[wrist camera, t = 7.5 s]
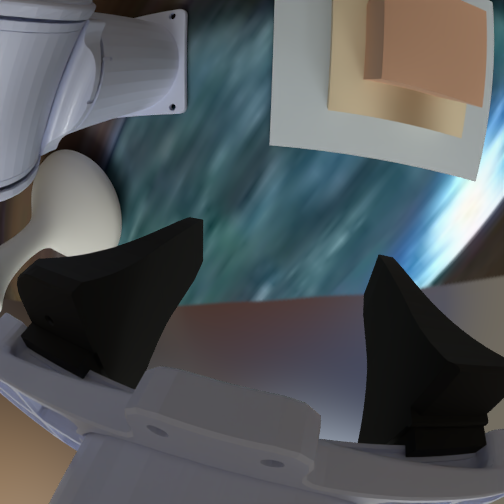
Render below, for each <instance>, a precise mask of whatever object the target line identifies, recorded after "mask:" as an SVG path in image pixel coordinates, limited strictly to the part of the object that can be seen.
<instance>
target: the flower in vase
mask: <svg viewBox="0 0 504 504" xmlns="http://www.w3.org/2000/svg"><path fill="white" fill-rule="evenodd" d="M121 227H122V215H121V208H120V203H119V200H118V196H117V194H116V191H115V189H114V187H113V185H112V183H111V181H110V180H109V178H108V176H107V175H106V174H105V172H104V171H103V170H102V169H101V168H100V167H99V165H98V164H97V163H95V162H94V161H93V160H92V159H90V158H89V157H87V156H85V155H83V154H81V153H79V152H76V151H73V150H66V149H65V150H58V151H55V152H53V153H52V154H50V155H49V156H48V157H47V158H46V159H45V160H44V161H43V162H42V164H41V165H40V166H39V169H38V172H37V174H36V176H35V178H34V183H33V187H32V217H31V220H30V222H29V224H28V225H27V226H26V227H25V228H24V229H23V230H22V231H21V232H19V233H18V234H17V235H16V236H14V237H13V238H12V239H10V240H9V241H7V242H6V243H4V244H2V245H1V246H0V312H1V310H2V303H3V298H4V294H5V291H6V289H7V286H8V284H9V282H10V281H11V279H12V278H13V276H14V275H15V274H16V272H17V271H18V270H19V269H20V268H21V267H22V265H23V264H24V263H25V262H26V261H28V260H29V259H30V258H31V257H32V256H33V255H35V254H36V253H37V252H38V251H40V250H42V249H44V248H52V249H54V250H56V251H57V252H59V253H61V254H63V255H65V256H67V257H69V256H77V255H83V254H88V253H93V252H97V251H101V250H105V249H109V248H113V247H116V246H117V245H118V243H119V240H120V236H121Z"/></svg>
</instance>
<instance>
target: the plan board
mask: <svg viewBox="0 0 504 504" xmlns="http://www.w3.org/2000/svg"><path fill="white" fill-rule="evenodd" d="M462 1H464V2H467V3H469V4H471V5H474V6H476V7H478V8H480V9H482V10H485V11H486V16H487V59H486V76H485V88H484V98H483V106H482V108H481V107H477V106H473V105H470V104H467V105H466V113H465V120H464V126H463V132H462V138H458V137H455V136H451V135H448V134H444V133H441V132H437V131H433V130H429V129H425V128H421V127H417V126H413V125H409V124H404V123H400V122H395V121H390V120H385V119H380V118H375V117H369V116H364V115H358V114H351V113H345V112H338V111H330V110H328V108H327V98H328V83H329V66H330V45H331V12H332V0H275V7H274V42H273V72H272V99H271V124H270V145H274V146H285V147H295V148H305V149H313V150H321V151H329V152H336V153H343V154H350V155H356V156H362V157H368V158H374V159H380V160H385V161H391V162H396V163H401V164H406V165H411V166H415V167H420V168H424V169H429V170H433V171H437V172H441V173H445V174H449V175H453V176H457V177H461V178H465V179H468V180H472V181H476V177H477V173H478V169H479V165H480V160H481V155H482V151H483V146H484V140H485V135H486V129H487V123H488V116H489V108H490V100H491V91H492V79H493V62H494V20H493V4H492V2H491V1H489V0H462Z"/></svg>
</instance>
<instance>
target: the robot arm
mask: <svg viewBox="0 0 504 504" xmlns="http://www.w3.org/2000/svg"><path fill="white" fill-rule="evenodd" d="M95 8H96V5H95V4H94V3H93V2H92V0H0V201H4V200H6V199H9V198H11V197H13V196H15V195H17V194H19V193H20V192H22V191H23V190H24V189H26V188H27V187H28V186H29V185H30V184H31V182H32V181H33V179H34V178H35V176H36V174H37V172H38V169H39V163H40V158H41V157H40V156H42V155H44V154H46V153H48V152H50V151H53V150H55V149H57V146H58V143H59V142H60V140H61V139H62V138H63V137H64V136H65V135H67V134H70V133H72V132H75V131H78V130H80V129H83V128H86V127H89V126H92V125H95V124H98V123H101V122H104V121H107V120H110V119H113V118H119V117H130V116H143V115H159V114H180V113H183V112H185V111H186V109H187V17H188V14H187V12H186V11H185V10H183V9H176V10H171V11H165V12H160V13H155V14H150V15H145V16H141V17H137V18H130V17H124V16H118V15H112V14H105V13H97V12H94V11H95ZM173 14H175V15H176V16H175V18H174V19H172V18H171V17H172V15H173ZM172 104H174V105H175V106H176V108H175V110H173V109H172V107H171V106H172ZM202 262H203V220H202V219H196V218H191V217H189V218H186V219H183V220H181V221H178V222H176V223H174V224H171V225H169V226H167V227H165V228H162V229H160V230H158V231H156V232H153V233H151V234H149V235H146V236H144V237H141V238H139V239H136V240H134V241H131V242H128V243H125V244H122V245H119V246H116V247H113V248H109V249H105V250H101V251H97V252H93V253H88V254H83V255H77V256H69V257H60V258H45V259H38V260H36V261H35V262H34V263H33V264H32V265H30V266H29V267H28V268H27V269H26V270H25V271H24V272H23V273H21V274H20V276H19V277H18V281H17V287H18V292H19V295H20V298H21V300H22V302H23V304H24V307H25V309H26V311H27V313H28V315H29V317H30V319H31V321H32V323H31V324H30V325H29V327H28V328H27V327H26V326H25V325H24V323H23V322H21V321H20V320H18V319H17V318H15V317H13V316H12V315H10V314H8V313H5V314H4V315H3V316H2V317H1V318H0V393H1V394H2V395H3V396H5V397H6V398H7V399H8V400H9V401H10V402H12V403H13V404H14V405H15V406H16V407H18V408H19V409H21V411H23V412H24V413H25V414H26V415H28V416H29V417H30V418H31V419H33V420H34V421H35V422H37V423H38V424H39V425H41V426H42V427H43V428H45V429H46V430H47V431H49V432H50V433H51V434H53V435H54V436H55V437H57V438H58V439H60V440H61V441H63V442H64V443H66V444H67V445H69V446H70V447H72V448H73V449H75V450H76V451H77V452H76V454H75V456H74V458H73V459H72V461H71V463H70V465H69V467H68V469H67V470H66V472H65V474H64V476H63V478H62V480H61V482H60V483H59V485H58V487H57V489H56V491H55V493H54V495H53V497H52V499H51V501H50V503H49V504H489V503H492V502H493V501H496V500H498V499H500V498H502V497H504V429H498V430H492V431H489V432H488V433H485V431H484V426H485V425H487V424H488V417H487V413H488V412H489V411H491V410H492V409H493V408H494V407H495V406H496V405H497V404H498V403H499V402H500V401H501V400H502V399H503V398H504V357H502V356H501V355H499V354H497V353H495V352H493V351H492V350H490V349H488V348H486V347H485V346H484V345H482V344H481V343H479V342H478V341H476V340H475V339H473V338H472V337H470V336H469V335H468V334H466V333H465V332H464V331H462V330H461V329H460V328H459V327H458V326H456V325H455V324H454V323H453V322H452V321H451V320H449V319H448V318H447V317H446V316H445V315H444V314H443V313H442V312H441V311H440V310H439V309H438V308H437V307H436V306H435V305H434V304H433V303H432V302H431V301H430V300H429V299H428V298H427V297H426V295H425V294H424V293H423V292H422V291H421V290H420V289H419V287H418V286H417V285H416V284H415V283H414V281H413V280H412V279H411V278H410V277H409V275H408V274H407V273H406V272H405V271H404V269H403V268H402V267H401V266H400V265H399V264H398V262H397V261H396V260H395V259H394V258H393V257H388V256H384V255H378V258H377V261H376V264H375V266H374V269H373V272H372V275H371V277H370V280H369V283H368V285H367V288H366V290H365V293H364V308H363V317H364V328H365V339H366V351H367V382H366V393H365V402H364V411H363V417H362V423H361V429H360V434H359V439H358V443H352V442H341V441H333V440H325V439H319V433H320V424H321V416H320V415H319V414H318V413H317V412H316V411H315V410H313V409H312V408H311V407H310V406H309V405H307V404H306V403H305V402H302V401H299V400H296V399H293V398H290V397H287V396H283V395H278V394H274V393H269V392H264V391H259V390H255V389H251V388H247V387H243V386H238V385H235V384H231V383H227V382H223V381H219V380H216V379H212V378H208V377H205V376H201V375H198V374H195V373H191V372H188V371H185V370H181V369H176V368H169V367H164V366H160V367H155V368H153V369H149V370H146V369H147V367H148V364H149V361H150V359H151V357H152V354H153V352H154V350H155V347H156V345H157V343H158V341H159V338H160V336H161V334H162V332H163V330H164V328H165V326H166V324H167V322H168V320H169V319H170V317H171V315H172V314H173V312H174V311H175V309H176V308H177V306H178V304H179V303H180V301H181V300H182V298H183V297H184V295H185V294H186V292H187V291H188V289H189V287H190V286H191V284H192V283H193V281H194V280H195V277H196V275H197V273H198V271H199V269H200V267H201V264H202Z"/></svg>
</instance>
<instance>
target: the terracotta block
mask: <svg viewBox="0 0 504 504" xmlns="http://www.w3.org/2000/svg"><path fill="white" fill-rule="evenodd" d="M486 59H487V16H486V11H485V10H482V9H480V8H478V7H476V6H474V5H471V4H469V3H467V2H464V1H462V0H369V1H368V3H367V13H366V45H365V63H364V78H363V80H369V81H374V82H379V83H384V84H389V85H394V86H398V87H402V88H407V89H411V90H415V91H418V92H422V93H426V94H430V95H433V96H437V97H440V98H444V99H449V100H453V101H458V102H462V103H466V104H470V105H473V106H477V107H481V108H482V106H483V98H484V88H485V76H486Z"/></svg>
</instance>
